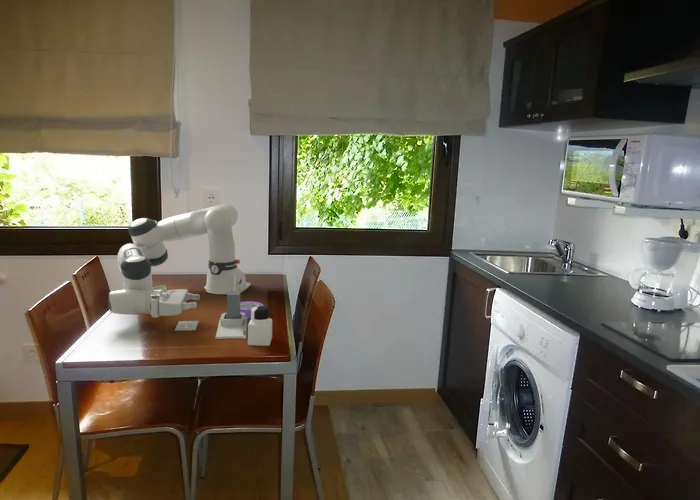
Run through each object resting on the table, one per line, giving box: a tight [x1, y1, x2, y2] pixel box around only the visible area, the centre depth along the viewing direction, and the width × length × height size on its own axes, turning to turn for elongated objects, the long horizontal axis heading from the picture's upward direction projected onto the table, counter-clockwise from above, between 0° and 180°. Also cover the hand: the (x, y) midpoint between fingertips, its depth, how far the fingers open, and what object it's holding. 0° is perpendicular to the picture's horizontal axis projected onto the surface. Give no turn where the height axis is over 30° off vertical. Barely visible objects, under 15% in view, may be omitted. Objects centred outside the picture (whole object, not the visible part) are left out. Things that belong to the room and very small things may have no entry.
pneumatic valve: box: [152, 283, 169, 293], centre depth 207 cm, size 6×12×12 cm
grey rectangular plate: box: [174, 320, 200, 332], centre depth 179 cm, size 10×7×1 cm
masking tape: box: [240, 301, 264, 320], centre depth 195 cm, size 12×12×4 cm
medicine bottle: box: [247, 305, 273, 347], centre depth 166 cm, size 7×7×12 cm
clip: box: [226, 291, 241, 319], centre depth 181 cm, size 4×4×11 cm
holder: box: [215, 312, 248, 340], centre depth 177 cm, size 20×10×4 cm, turn 10°
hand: (198, 300), depth 177 cm, fingers open, 8 cm apart
